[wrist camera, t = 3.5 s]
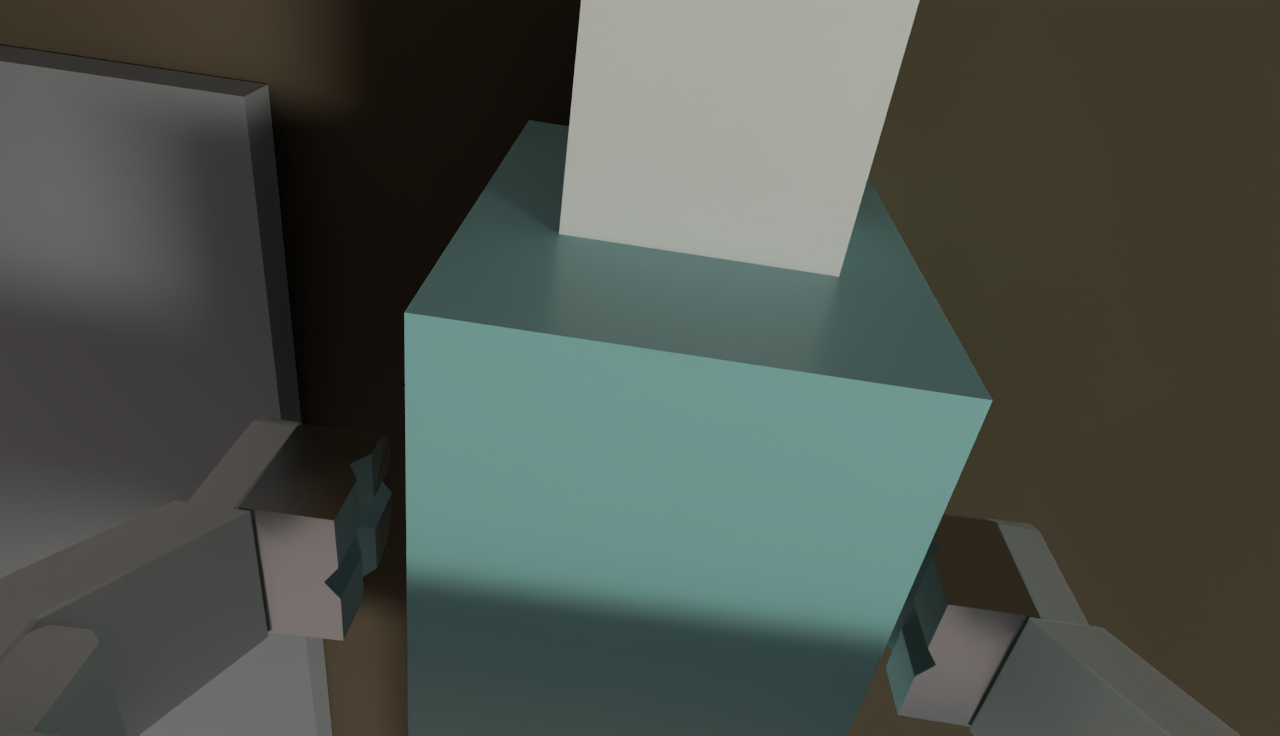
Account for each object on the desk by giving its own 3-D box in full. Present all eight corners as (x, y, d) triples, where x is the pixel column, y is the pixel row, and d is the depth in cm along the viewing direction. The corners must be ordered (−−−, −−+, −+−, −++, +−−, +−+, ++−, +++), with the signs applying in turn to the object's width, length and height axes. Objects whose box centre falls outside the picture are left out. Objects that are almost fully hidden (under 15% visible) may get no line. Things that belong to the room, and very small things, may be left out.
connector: (546, -116, 9) (401, -95, 4) (927, -53, 9) (1154, 25, 4) (486, 741, 16) (411, 1059, 12) (691, 769, 16) (691, 1095, 12)
